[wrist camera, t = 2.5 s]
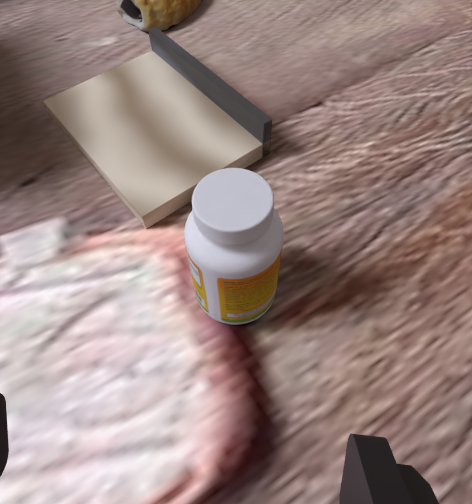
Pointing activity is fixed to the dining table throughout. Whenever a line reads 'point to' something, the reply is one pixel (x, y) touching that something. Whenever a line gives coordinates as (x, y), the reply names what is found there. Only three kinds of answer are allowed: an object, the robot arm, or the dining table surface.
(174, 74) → the shelf board
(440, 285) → the dining table surface
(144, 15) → the pastry
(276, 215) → the supplement bottle
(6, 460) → the robot arm
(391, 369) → the dining table surface
